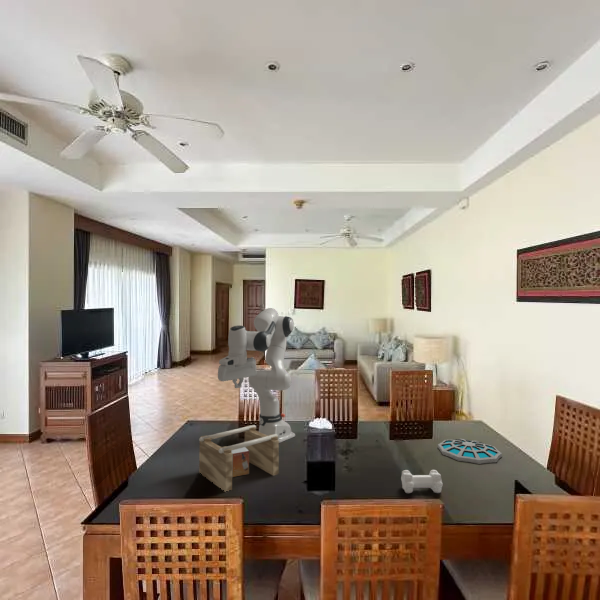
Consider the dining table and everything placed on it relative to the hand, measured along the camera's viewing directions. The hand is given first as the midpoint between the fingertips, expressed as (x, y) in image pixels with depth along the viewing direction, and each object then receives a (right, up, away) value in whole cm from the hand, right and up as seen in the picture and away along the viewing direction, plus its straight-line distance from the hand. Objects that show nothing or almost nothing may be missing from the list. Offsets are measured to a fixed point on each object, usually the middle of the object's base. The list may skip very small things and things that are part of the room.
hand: (238, 387), depth 187 cm
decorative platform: (+118, -37, +13) cm, 124 cm away
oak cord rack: (+2, -36, -13) cm, 38 cm away
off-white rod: (+8, -21, -20) cm, 30 cm away
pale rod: (-3, -21, -6) cm, 22 cm away
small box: (+2, -36, -13) cm, 39 cm away
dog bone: (+80, -36, -29) cm, 93 cm away
